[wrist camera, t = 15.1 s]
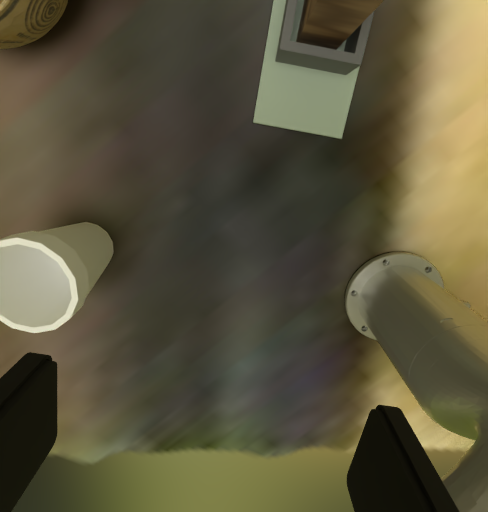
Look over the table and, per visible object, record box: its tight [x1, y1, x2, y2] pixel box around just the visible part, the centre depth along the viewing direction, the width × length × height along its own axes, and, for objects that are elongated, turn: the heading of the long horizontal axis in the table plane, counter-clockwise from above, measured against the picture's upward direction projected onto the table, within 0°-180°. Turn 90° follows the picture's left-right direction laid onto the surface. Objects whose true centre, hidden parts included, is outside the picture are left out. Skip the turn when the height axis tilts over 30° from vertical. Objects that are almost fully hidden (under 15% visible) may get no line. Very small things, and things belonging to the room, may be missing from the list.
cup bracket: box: [253, 0, 375, 139], centre depth 33 cm, size 10×17×6 cm, turn 170°
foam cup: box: [0, 222, 114, 333], centre depth 37 cm, size 10×9×13 cm
